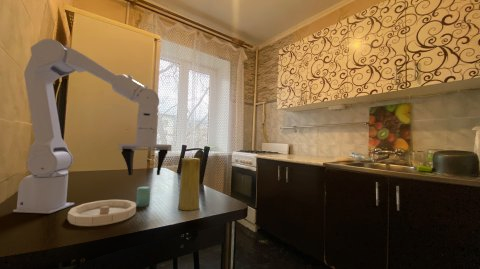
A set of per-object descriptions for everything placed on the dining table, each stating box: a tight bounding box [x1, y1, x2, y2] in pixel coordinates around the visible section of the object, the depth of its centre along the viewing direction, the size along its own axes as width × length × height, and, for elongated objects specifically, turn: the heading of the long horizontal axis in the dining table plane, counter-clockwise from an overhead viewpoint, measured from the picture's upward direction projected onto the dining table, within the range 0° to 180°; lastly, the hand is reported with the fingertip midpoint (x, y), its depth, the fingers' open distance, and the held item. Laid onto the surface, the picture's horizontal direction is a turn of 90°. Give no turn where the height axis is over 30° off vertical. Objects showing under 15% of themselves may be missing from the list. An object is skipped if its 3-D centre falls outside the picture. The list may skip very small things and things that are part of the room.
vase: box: [177, 157, 201, 212], centre depth 62 cm, size 6×6×14 cm
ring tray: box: [67, 199, 137, 227], centre depth 53 cm, size 14×14×2 cm
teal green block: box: [135, 186, 151, 208], centre depth 63 cm, size 4×4×5 cm
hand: (144, 174), depth 63 cm, fingers open, 7 cm apart
